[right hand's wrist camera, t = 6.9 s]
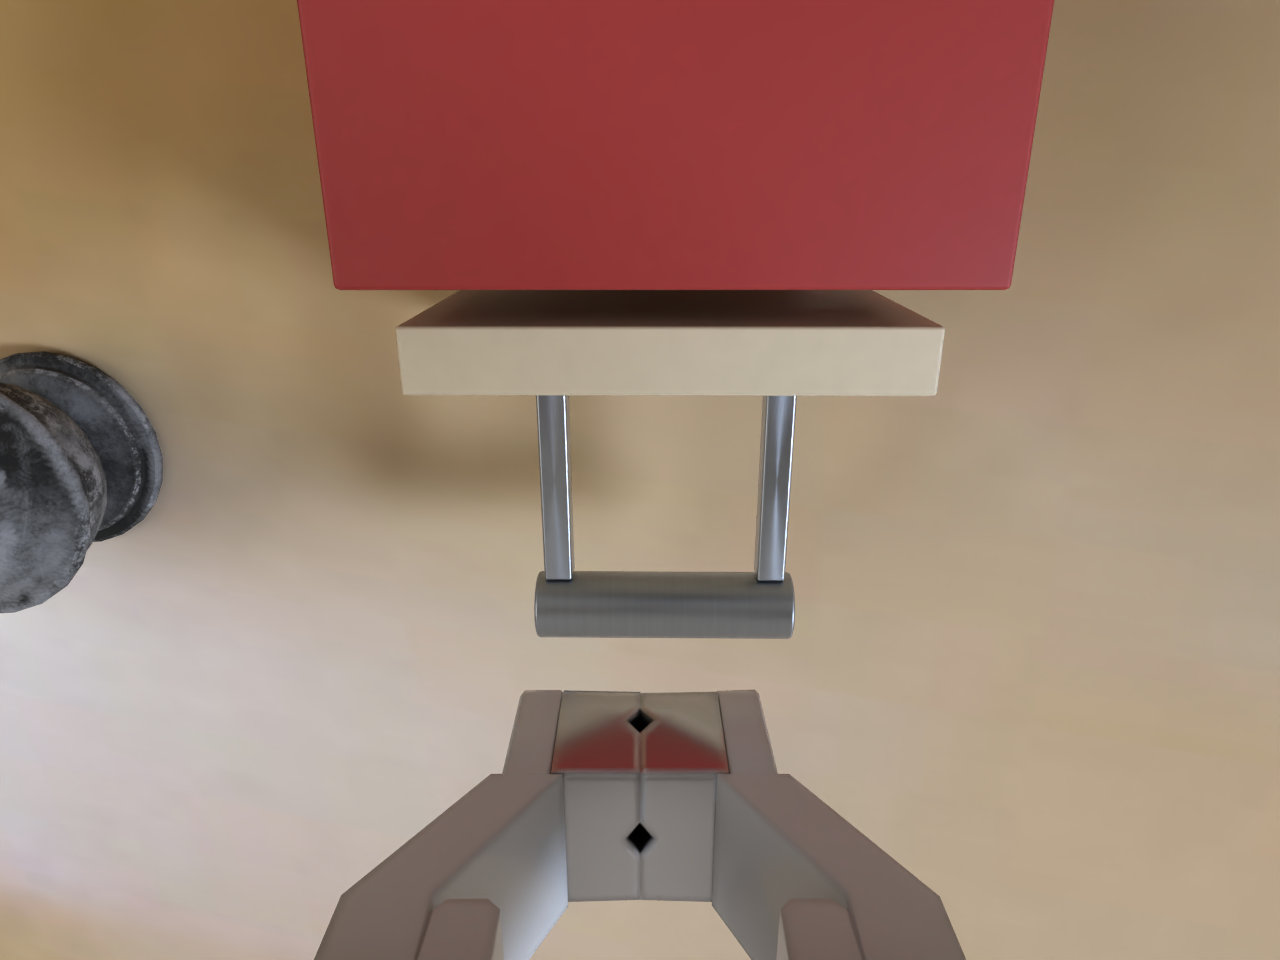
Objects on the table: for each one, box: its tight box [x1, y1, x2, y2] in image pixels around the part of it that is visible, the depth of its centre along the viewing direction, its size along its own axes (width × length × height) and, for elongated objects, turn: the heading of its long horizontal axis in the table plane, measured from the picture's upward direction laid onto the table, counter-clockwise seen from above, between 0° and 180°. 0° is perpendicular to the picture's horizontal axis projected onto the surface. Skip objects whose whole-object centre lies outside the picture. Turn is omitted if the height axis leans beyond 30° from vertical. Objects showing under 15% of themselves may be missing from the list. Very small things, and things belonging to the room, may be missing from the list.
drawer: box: [396, 290, 945, 639], centre depth 15 cm, size 25×9×6 cm, turn 0°
